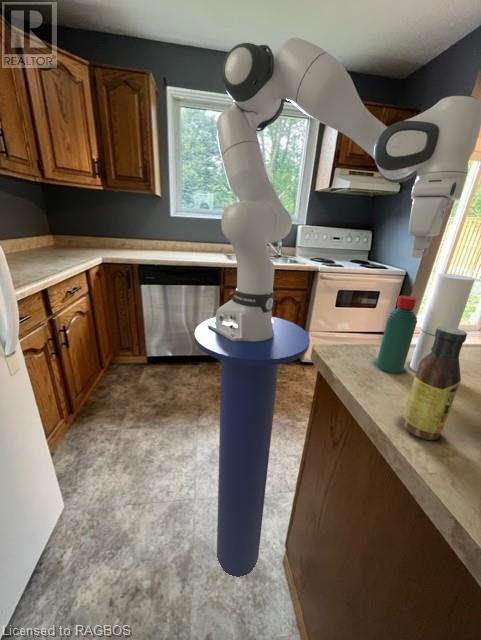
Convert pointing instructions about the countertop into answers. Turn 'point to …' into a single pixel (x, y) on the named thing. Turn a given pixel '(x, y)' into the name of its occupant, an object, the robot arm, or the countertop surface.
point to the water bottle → (396, 340)
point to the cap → (406, 302)
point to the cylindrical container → (442, 311)
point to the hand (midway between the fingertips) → (419, 256)
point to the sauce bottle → (435, 385)
